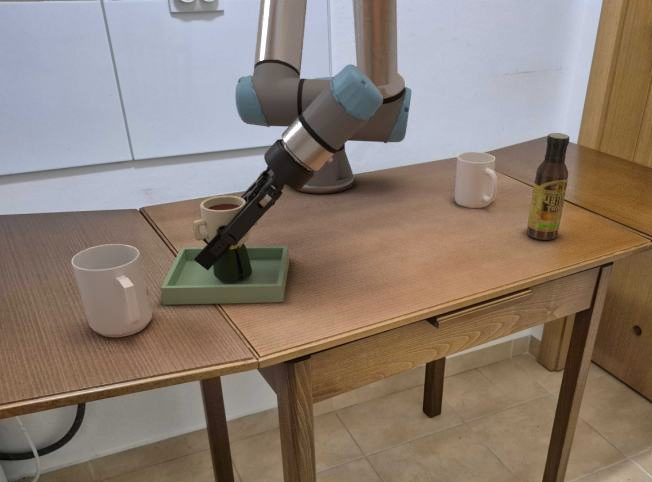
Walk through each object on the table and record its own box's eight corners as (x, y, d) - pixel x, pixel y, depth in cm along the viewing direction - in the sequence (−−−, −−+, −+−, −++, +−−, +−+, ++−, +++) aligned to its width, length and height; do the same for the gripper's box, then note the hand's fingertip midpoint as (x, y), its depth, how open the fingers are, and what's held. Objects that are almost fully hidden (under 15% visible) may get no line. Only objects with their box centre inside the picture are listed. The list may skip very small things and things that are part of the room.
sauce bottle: (537, 243, 126) (552, 141, 115) (520, 232, 131) (533, 132, 120) (564, 239, 128) (581, 137, 118) (546, 228, 133) (561, 129, 122)
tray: (183, 262, 114) (181, 247, 113) (289, 261, 116) (288, 245, 115) (163, 304, 101) (160, 288, 100) (283, 302, 103) (281, 285, 101)
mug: (81, 322, 96) (62, 254, 90) (140, 304, 101) (125, 238, 95) (111, 356, 89) (92, 284, 83) (173, 335, 94) (159, 266, 88)
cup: (476, 193, 150) (480, 150, 144) (508, 210, 141) (514, 164, 136) (447, 199, 146) (449, 154, 141) (478, 216, 137) (482, 169, 132)
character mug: (213, 294, 103) (200, 217, 96) (193, 277, 108) (180, 203, 101) (272, 275, 109) (265, 202, 102) (252, 260, 114) (243, 189, 107)
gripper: (314, 193, 92) (214, 296, 99) (318, 154, 109) (232, 244, 116) (273, 156, 88) (172, 265, 96) (284, 121, 105) (197, 216, 112)
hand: (205, 254), depth 106 cm, fingers closed on character mug, 7 cm apart
